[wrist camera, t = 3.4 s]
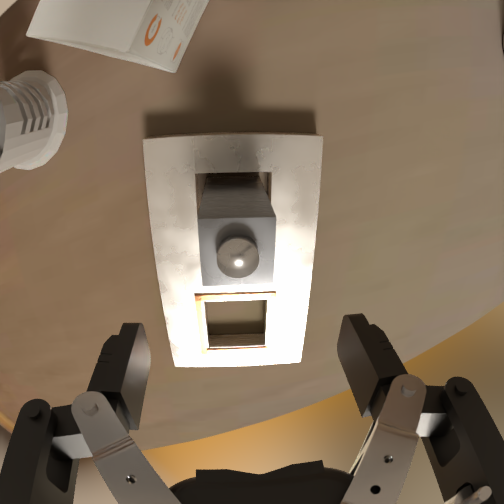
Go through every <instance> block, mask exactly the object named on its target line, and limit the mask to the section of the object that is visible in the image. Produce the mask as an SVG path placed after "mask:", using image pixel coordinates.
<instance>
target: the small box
mask: <svg viewBox="0 0 504 504" xmlns="http://www.w3.org/2000/svg"><path fill="white" fill-rule="evenodd" d="M208 2H209V0H40V1H39V3H38V6H37V8H36V10H35V13H34V15H33V18H32V20H31V22H30V25H29V28H28V30H27V33H26V36H28V37H32V38H36V39H41V40H46V41H51V42H55V43H60V44H64V45H68V46H72V47H76V48H80V49H84V50H88V51H91V52H95V53H99V54H103V55H106V56H110V57H114V58H119V59H123V60H127V61H131V62H135V63H139V64H143V65H146V66H150V67H154V68H157V69H161V70H165V71H168V72H171V73H175V72H176V71H177V69H178V66H179V64H180V62H181V59H182V57H183V55H184V53H185V50H186V48H187V46H188V44H189V42H190V39H191V37H192V35H193V33H194V31H195V29H196V26H197V24H198V22H199V20H200V18H201V16H202V14H203V12H204V10H205V8H206V6H207V4H208Z"/></svg>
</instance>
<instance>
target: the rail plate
mask: <svg viewBox="0 0 504 504" xmlns="http://www.w3.org/2000/svg"><path fill="white" fill-rule="evenodd" d="M322 147H323V136H321V135H319V134H315V133H292V132H215V133H191V134H174V135H161V136H149V137H147V138H145V139H143V150H144V163H145V176H146V187H147V197H148V206H149V215H150V224H151V232H152V239H153V247H154V254H155V261H156V268H157V274H158V280H159V286H160V292H161V298H162V304H163V309H164V315H165V320H166V325H167V331H168V336H169V341H170V345H171V350H172V355H173V359H174V364H175V367H218V366H247V365H265V364H280V363H293V362H300V360H301V353H302V346H303V339H304V332H305V325H306V317H307V310H308V302H309V294H310V285H311V277H312V268H313V259H314V249H315V239H316V228H317V217H318V205H319V193H320V179H321V164H322ZM225 172H269V175H268V198H269V200H270V203H271V205H272V208H273V210H274V212H275V215H276V242H275V265H274V284H262V285H234V286H202V277H201V264H200V251H199V237H198V222H197V218H198V214H199V197H198V176H197V173H225ZM262 299H265V314H264V333H256V334H231V335H209V330H208V320H207V309H206V301H236V300H262Z"/></svg>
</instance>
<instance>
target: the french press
mask: <svg viewBox="0 0 504 504" xmlns="http://www.w3.org/2000/svg"><path fill="white" fill-rule="evenodd" d="M67 118H68V109H67V103H66V98H65V93H64V91H63V90H62V88H61V86H60V85H59V83H58V82H57V80H56V79H55V78H54V77H53V76H51V75H49V74H47V73H46V72H44V71H42V70H32V71H25V72H23V73H21V74H19V75H17V76H16V77H14V78H12V79H11V80H10V81H0V173H1V172H3V171H5V170H8V169H10V168H12V167H15V168H18V169H26V170H31V169H34V168H36V167H39V166H42V165H44V164H45V163H46V162H47V161H48V160H49V159H50V158H51V157H52V156H53V155H54V154H55V153H56V152H57V151H58V148H59V146H60V144H61V142H62V140H63V138H64V135H65V133H66V125H67Z"/></svg>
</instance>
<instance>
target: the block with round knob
mask: <svg viewBox="0 0 504 504" xmlns="http://www.w3.org/2000/svg"><path fill="white" fill-rule="evenodd" d="M197 222H198V237H199V251H200V264H201V277H202V286H234V285H262V284H274V265H275V242H276V215H275V212H274V210H273V208H272V205H271V203H270V200H269V198H268V196H267V193H266V191H265V189H264V186H263V184H262V182H261V179H260V177H259V176H221V177H207V179H206V183H205V188H204V192H203V196H202V201H201V205H200V209H199V214H198V218H197Z"/></svg>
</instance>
